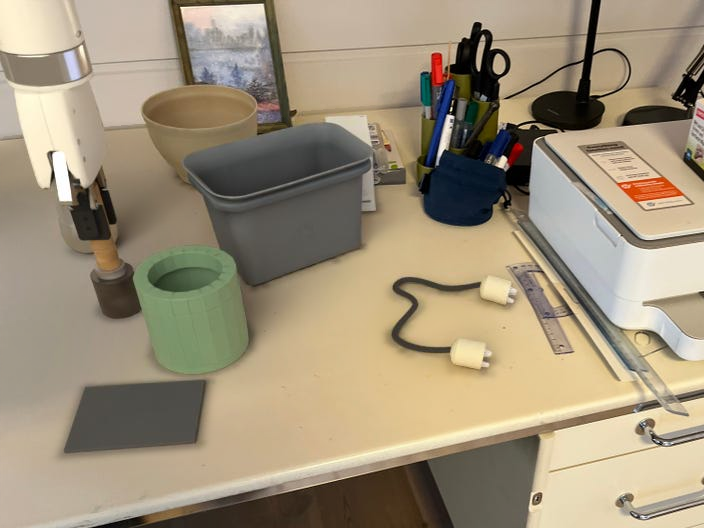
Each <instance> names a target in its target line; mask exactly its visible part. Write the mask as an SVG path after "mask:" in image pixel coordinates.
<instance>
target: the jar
mask: <svg viewBox="0 0 704 528" xmlns="http://www.w3.org/2000/svg"><path fill="white" fill-rule="evenodd" d="M133 281H134V284H135V288H136V291H137V295H138V298H139V302H140V305H141V308H142V309H141V312H142V316H143V319H144V322H145V326H146V329H147V332H148V336H149V340H150V343H151V346H152V349H153V353H154V357H155V359H156V360H157V362H158V363H159V364H160V365H161V366H162V367H164V368H165V369H167V370H169V371H171V372H174V373H178V374H185V375H203V374H208V373H212V372H216V371H219V370H221V369H224V368H226V367H228V366H230V365H232V364H234V363H236V361H238V360H239V359H240V358H241V357H242V356H243V355H244V354H245V352H246V351H247V349H248V347H249V343H250V337H249V329H248V324H247V318H246V312H245V305H244V302H243V301H244V300H243V295H242V290H241V289H242V288H241V284H240V278H239V274H238V272H237V267H236V264H235V262H234V259H233V258H232V257H231V256H230V255H229V254H227V253H226V252H224V251H222V250H220V248H217V247H214V246H207V245H200V244H191V245H181V246H176V247H169V248H167V249H164V250H161V251H159V252H156V253H154V254H152V255H150V256H149V257H147V258H145V259H144V260H142V261H141V262H140V264H138V266H137V267H136V268H135V270H134V276H133Z"/></svg>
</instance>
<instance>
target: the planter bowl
mask: <svg viewBox="0 0 704 528" xmlns="http://www.w3.org/2000/svg"><path fill="white" fill-rule="evenodd" d="M140 113H141V117H142V119H143V121H144V123H145V126H146V129H147V133H148V135H149V137H150V139H151V141H152V144H153V145H154V147H155V149H156V150H157V152H158V153H159V154H160V156H161V157H162V158H163V160H165V162H166V163H167V164H168V165H169V166H171V168H172V169H174V170H175V171H176V172H177V175H178V176H179V178H180V180H182V181H183V182H184V183H186V184H189V185H192V184H191V183H190V182H189V180H188V175H187V174H188V172H187V171H186V170H185V169H184V168H183V167H182V164H181V163H182V160H183V158H184V157H186V156H187V155H189V154H191V153H193V152H195V151H199V150H202V149H206V148H210V147H214V146H218V145H222V144H226V143H230V142H234V141H238V140H242V139H245V138H249V137H253V136H258V125H259V123H258V113H259V105H258V102H257V100H256V98H255V97H253V95H251V94H249V93H248V92H246V91H243V90H242V89H238V88H236V87H231V86H227V85H218V84H189V85H181V86H175V87H172V88H169V89H165V90H161V91H158V92H156V93H154V94H152V95H150V96H149V97H146V99H145V100H144V101H143V103H142V104H141V105H140Z"/></svg>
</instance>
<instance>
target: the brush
mask: <svg viewBox="0 0 704 528" xmlns="http://www.w3.org/2000/svg"><path fill="white" fill-rule="evenodd" d="M93 186H94V190H95V193H96V197H97V201H98V205H103V201H102V198H101V195H100V191H99V188H98V184H97V183H96V182H95V181H94V182H93ZM75 191H76V192H83V193H85V194H86V191H85V188H83V189H75ZM103 209H104V212H105V215H106V211H105V208H104V205H103ZM106 219H107V222H108V225H109V221H108V218H107V215H106ZM109 229H110V232H111V237H110V239H109V240H90V243H91V246H92V249H93V252H94V253H93V255H94V258H95V261H96V263H95V264H94V268H93V269H92V270H91V272H90V275H89V277H90V280H91V284H92V287H93V289H94V293H95V295H96V299H97V302H98V304H99V307H100V310H101V313H102V314H103V315H104V316H105V317H107V318H109V319H115V320H116V319H117V320H118V319H126V318H129V317H132V316H134V315H136V314H138V313H139V312H140V311H142V308H141V305H140V302H139V298H138V295H137V291H136V288H135V284H134V281H133V276H134V273H135V270H134V266H132V264H131V263H128V262H126V261H125V260H124V259H122V258H120V255H119V251H118V248H117V244H116V242H114V238H113V235H112V231H111V228H110V225H109Z"/></svg>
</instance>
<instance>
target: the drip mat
mask: <svg viewBox="0 0 704 528" xmlns="http://www.w3.org/2000/svg"><path fill="white" fill-rule="evenodd" d="M205 387H206V380H205V379H195V380H194V379H192V380H179V381H178V380H177V381H160V382H145V383H130V384H129V383H128V384H115V385H114V384H113V385H99V386H85V387H84V388H83V389H84V390H83V392H82V395H81V398H80V400H79V404H78V407H77V410H76V413H75V415H74V419H73V422H72V425H71V427H70V431H69V432H68V433H69V434H68V437H67V439H66V442H65V446H64V449H63V452H64V454H71V453H72V454H73V453H84V452H98V451H99V452H100V451H111V450H123V449H138V448H149V447H150V448H152V447H164V446H165V447H166V446H178V445H192V444H196V441H197V435H198V429H199V423H200V417H201V412H202V411H201V410H202V404H203V399H204V393H205Z"/></svg>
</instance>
